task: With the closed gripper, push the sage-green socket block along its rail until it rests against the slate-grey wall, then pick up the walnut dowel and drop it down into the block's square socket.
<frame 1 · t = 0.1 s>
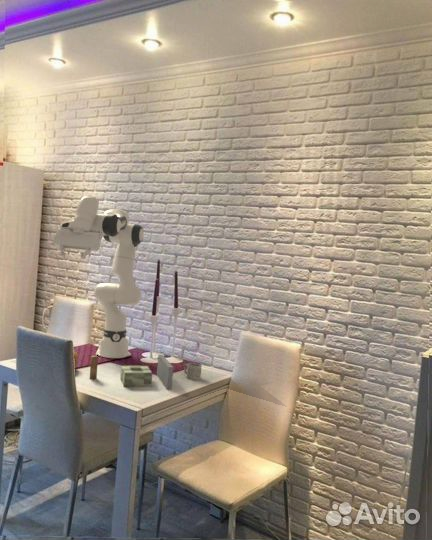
hand: (72, 257, 204), 54 cm above the table, tool tilted 30°, fingers open, 8 cm apart
dowel: (93, 378, 218), on the table
pot: (64, 370, 227), on the table
socket block: (135, 375, 217), point 3 cm above the table, slide at 0.0 cm
mug: (191, 377, 233), on the table
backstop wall: (163, 382, 221), on the table
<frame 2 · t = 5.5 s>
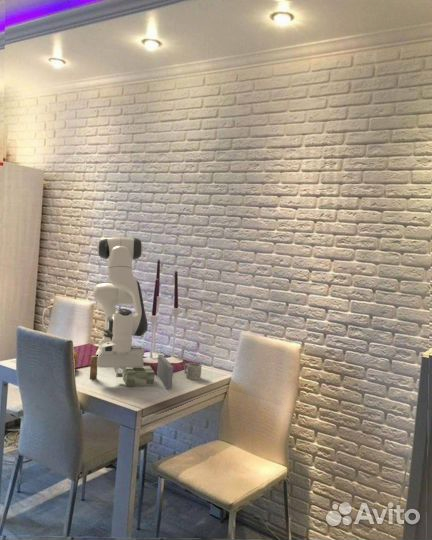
hand: (119, 376, 214), 3 cm above the table, tool pointing down, fingers closed
socket block: (138, 375, 217), point 3 cm above the table, slide at 1.2 cm, touching gripper
everything else where it was.
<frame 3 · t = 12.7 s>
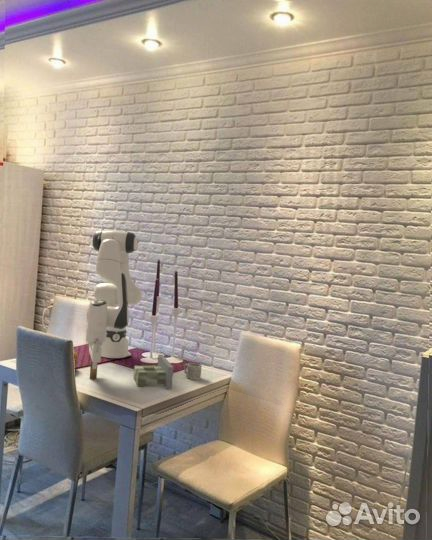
hand: (93, 367, 217), 5 cm above the table, tool pointing down, fingers closed on dowel, 3 cm apart
dowel: (93, 378, 218), on the table, touching gripper
socket block: (149, 375, 219), point 3 cm above the table, slide at 6.0 cm, touching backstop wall
everything else where it was.
when the fingers open (8 cm above the table, at t = 18.6 s): dowel drops 2 cm, resting on socket block.
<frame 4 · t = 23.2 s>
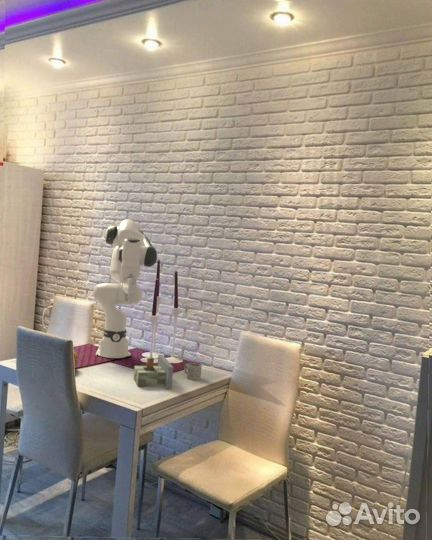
hand: (127, 302, 226), 34 cm above the table, tool pointing down, fingers open, 8 cm apart
dowel: (148, 380, 219), point 1 cm above the table, touching socket block
socket block: (149, 375, 219), point 3 cm above the table, slide at 6.0 cm, touching dowel
everything else where it was.
at the end: socket block slide at 6.0 cm; dowel 0.4 cm from the target spot, point 1.0 cm above the table; dowel tilted 1° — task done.
